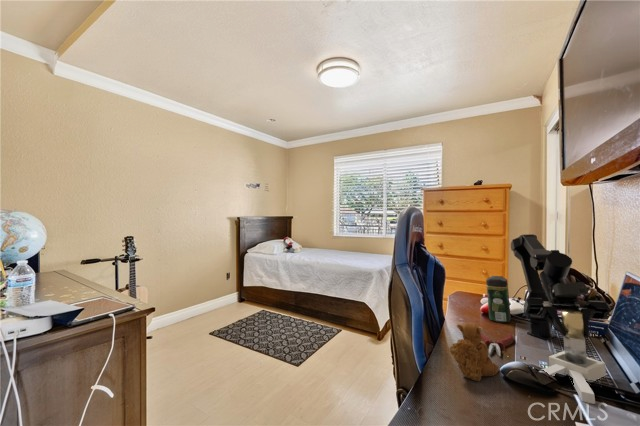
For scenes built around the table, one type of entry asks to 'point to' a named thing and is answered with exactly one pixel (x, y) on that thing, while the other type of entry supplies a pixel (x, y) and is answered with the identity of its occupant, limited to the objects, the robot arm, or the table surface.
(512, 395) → the table surface
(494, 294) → the coffee jar
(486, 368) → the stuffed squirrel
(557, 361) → the socket
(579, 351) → the coupler
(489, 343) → the pliers
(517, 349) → the table surface
